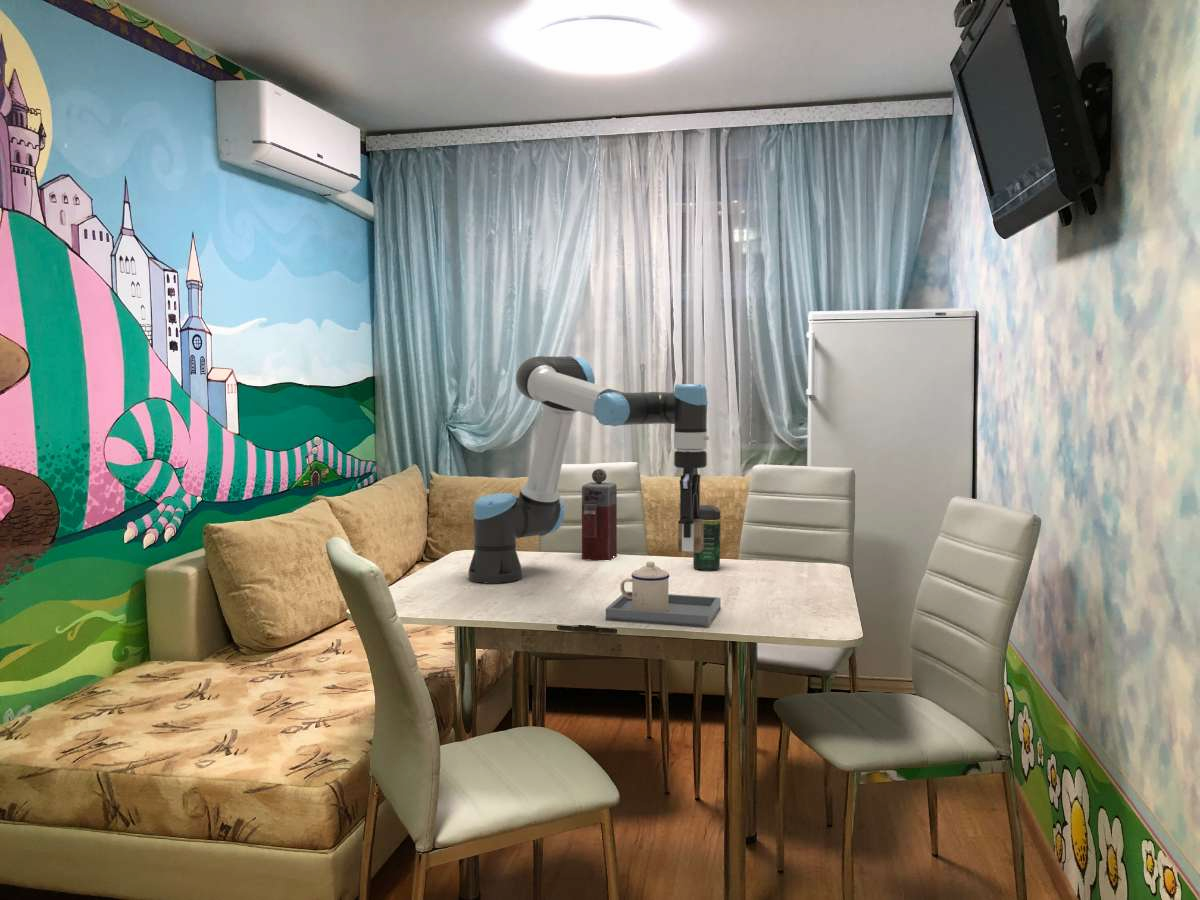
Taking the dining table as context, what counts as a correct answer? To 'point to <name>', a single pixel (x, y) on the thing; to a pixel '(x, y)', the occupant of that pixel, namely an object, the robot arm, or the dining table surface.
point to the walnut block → (697, 536)
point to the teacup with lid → (648, 588)
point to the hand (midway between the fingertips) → (690, 548)
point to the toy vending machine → (599, 518)
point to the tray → (679, 611)
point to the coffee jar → (709, 539)
